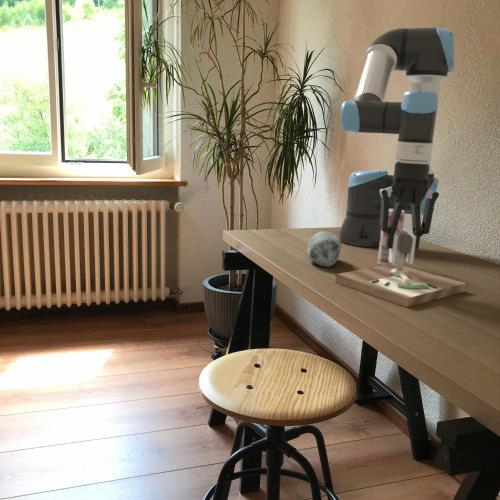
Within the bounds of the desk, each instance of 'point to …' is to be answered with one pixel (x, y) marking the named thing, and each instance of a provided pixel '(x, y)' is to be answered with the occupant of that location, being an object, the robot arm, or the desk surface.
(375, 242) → the robot arm
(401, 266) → the grey piece
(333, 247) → the pale teal yarn skein
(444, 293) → the dial board
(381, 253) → the beverage can
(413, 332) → the desk surface
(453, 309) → the desk surface
